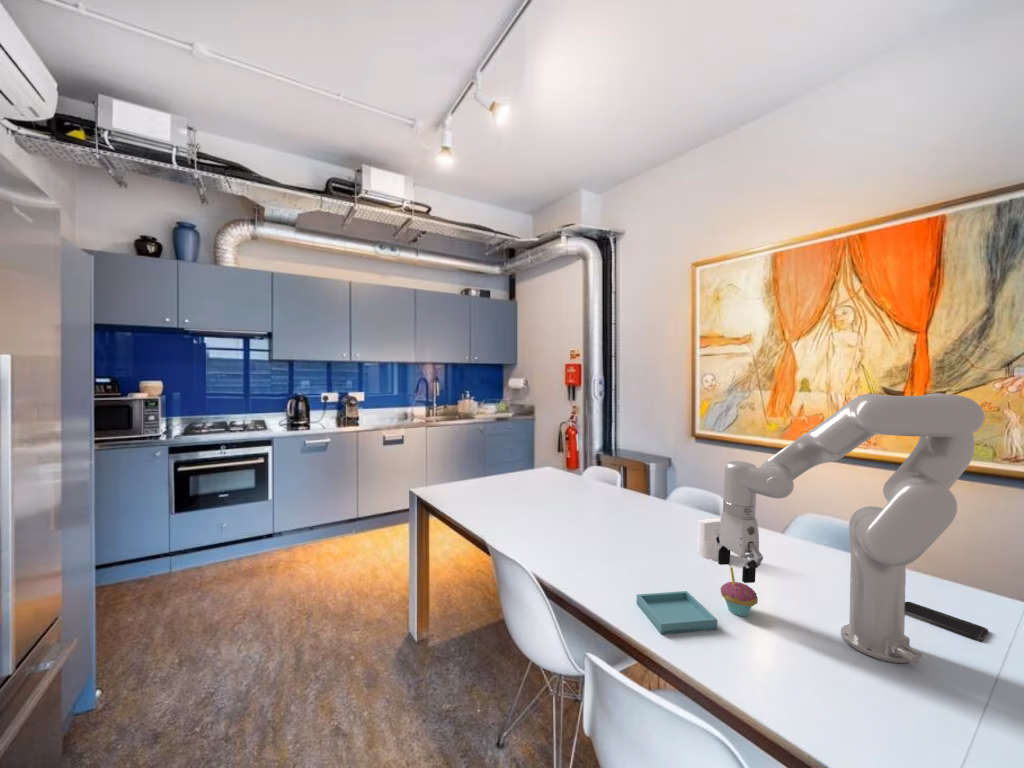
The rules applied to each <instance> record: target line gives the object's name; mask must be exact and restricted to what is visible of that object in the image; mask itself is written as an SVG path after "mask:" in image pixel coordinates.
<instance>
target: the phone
mask: <svg viewBox="0 0 1024 768" xmlns="http://www.w3.org/2000/svg"><path fill="white" fill-rule="evenodd" d="M905 616H907V617H909V618H912V619H915V620H918V621H920V622H924V623H927V624H929V625H931V626H934V627H937V628H939V629H943V630H945V631H947V632H951V633H953V634H956V635H959V636H961V637H965V638H966V639H970V640H972V641H975V642H981V643H982V642H984V640H985V639H986V637H987V636H988V635H989V629H988V628H987V627H984V626H981V625H979V624H976V623H972V622H970V621H968V620H965V619H961V618H958V617H955V616H952V615H950V614H947V613H945V612H941V611H937V610H935V609H932V608H929V607H927V606H924V605H920V604H917V603H914V602H911V601H905Z"/></svg>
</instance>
